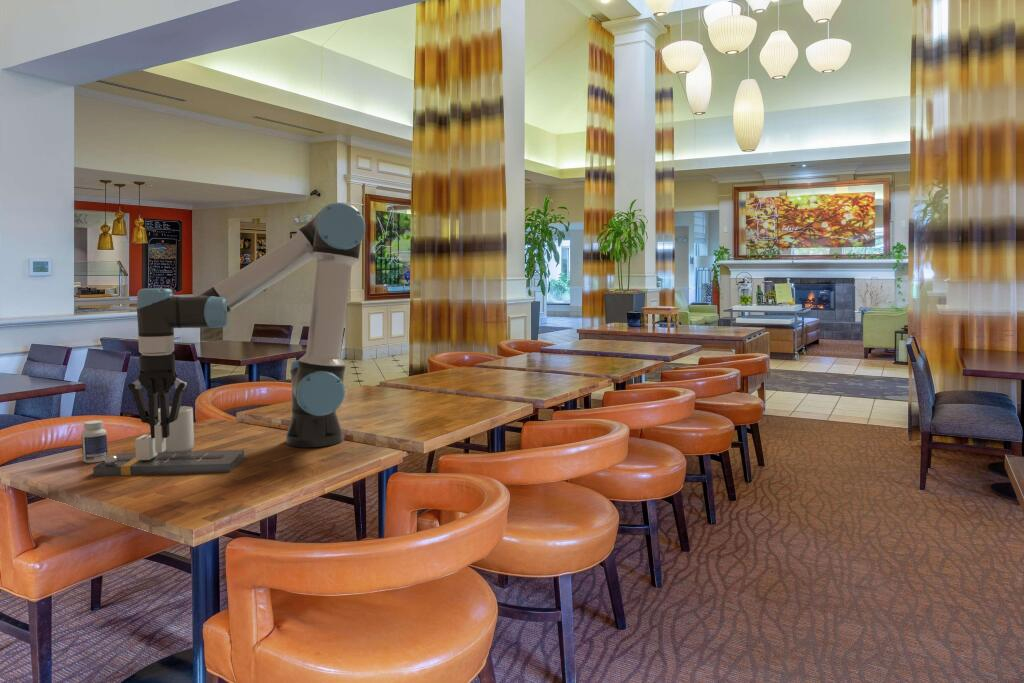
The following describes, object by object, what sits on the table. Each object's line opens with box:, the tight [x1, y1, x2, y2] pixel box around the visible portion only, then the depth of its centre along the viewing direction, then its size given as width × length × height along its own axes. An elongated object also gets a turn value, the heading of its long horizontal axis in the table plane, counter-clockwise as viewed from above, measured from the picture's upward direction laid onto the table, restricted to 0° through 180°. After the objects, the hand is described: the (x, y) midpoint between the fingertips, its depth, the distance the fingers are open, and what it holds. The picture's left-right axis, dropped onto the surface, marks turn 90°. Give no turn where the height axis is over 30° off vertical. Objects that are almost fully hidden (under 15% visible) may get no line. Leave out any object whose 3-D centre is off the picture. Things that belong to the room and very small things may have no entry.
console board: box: [92, 449, 245, 477], centre depth 165 cm, size 30×13×4 cm, turn 97°
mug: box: [158, 405, 195, 452], centre depth 181 cm, size 12×9×11 cm
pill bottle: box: [80, 420, 109, 464], centre depth 170 cm, size 5×5×10 cm
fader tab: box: [134, 433, 158, 460], centre depth 164 cm, size 3×5×5 cm, turn 7°
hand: (160, 451), depth 165 cm, fingers closed
